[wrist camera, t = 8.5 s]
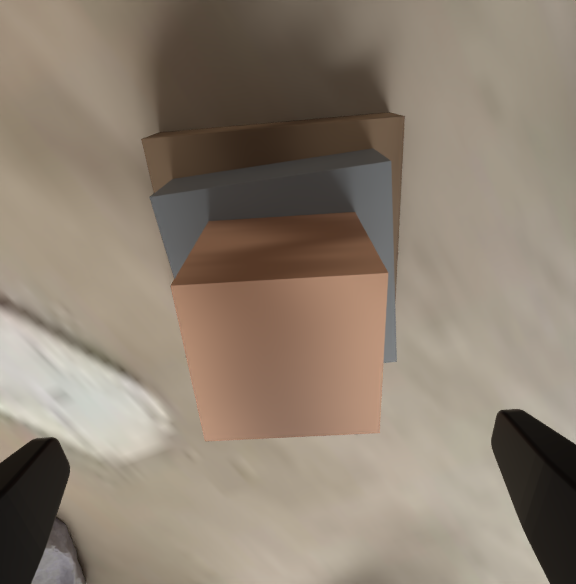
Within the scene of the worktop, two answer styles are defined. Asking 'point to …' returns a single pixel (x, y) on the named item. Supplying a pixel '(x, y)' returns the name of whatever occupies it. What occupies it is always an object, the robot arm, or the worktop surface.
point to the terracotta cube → (284, 327)
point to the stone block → (59, 559)
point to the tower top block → (286, 205)
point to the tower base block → (277, 149)
